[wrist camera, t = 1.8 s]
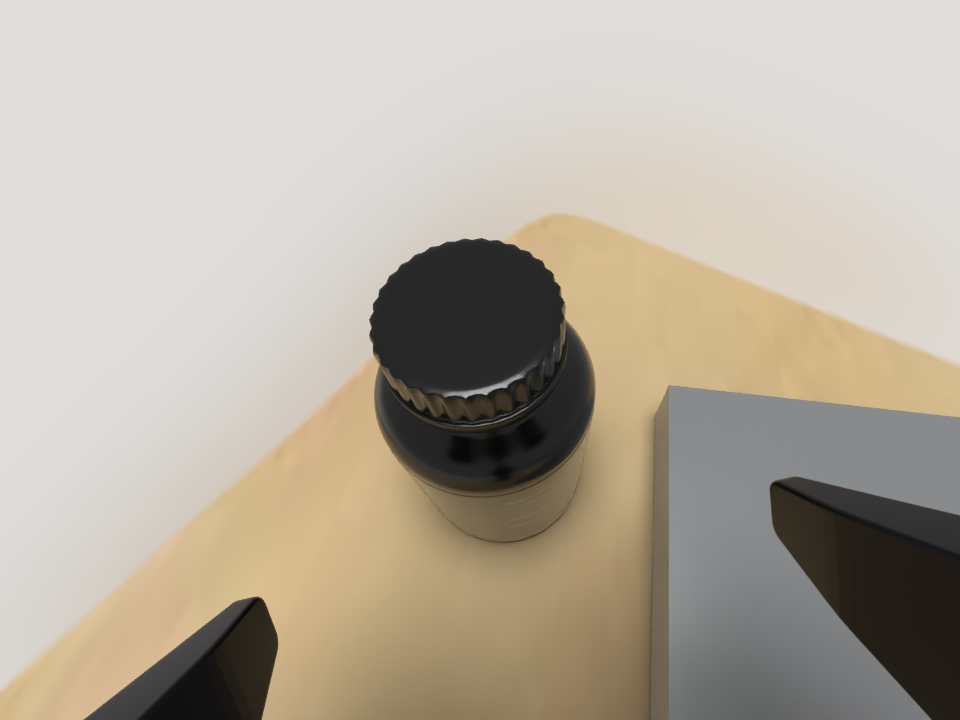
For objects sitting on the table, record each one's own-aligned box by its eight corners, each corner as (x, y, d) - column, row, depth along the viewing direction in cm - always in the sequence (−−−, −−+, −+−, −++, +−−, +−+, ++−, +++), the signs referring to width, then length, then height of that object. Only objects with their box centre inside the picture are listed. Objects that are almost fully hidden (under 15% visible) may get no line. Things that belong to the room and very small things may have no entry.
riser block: (1201, 1059, 12) (1386, 1175, 9) (647, 883, 14) (668, 934, 12) (991, 457, 19) (1058, 428, 17) (655, 415, 22) (669, 385, 19)
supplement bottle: (399, 468, 22) (272, 314, 12) (503, 374, 24) (470, 172, 14) (503, 585, 19) (452, 511, 9) (612, 466, 21) (674, 293, 11)
